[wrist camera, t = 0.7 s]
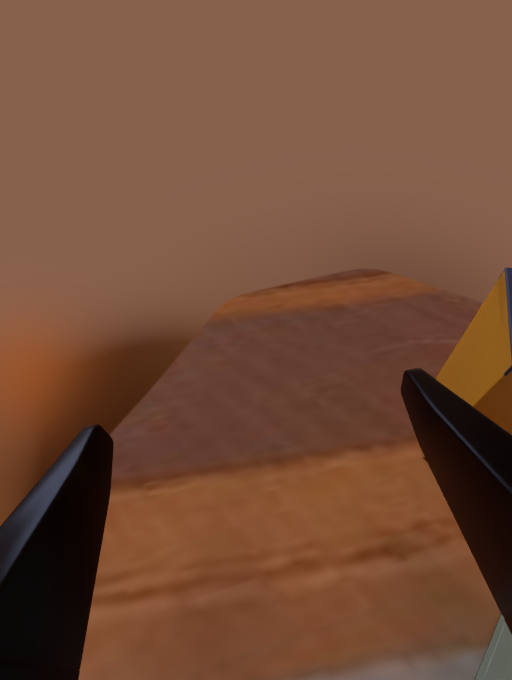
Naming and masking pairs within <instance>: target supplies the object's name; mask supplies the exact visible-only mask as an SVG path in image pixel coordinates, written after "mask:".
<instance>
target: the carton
mask: <svg viewBox="0 0 512 680" xmlns="http://www.w3.org/2000/svg"><path fill="white" fill-rule="evenodd" d="M436 380H437V381H439V382H440V383H441V384H443V385H444V386H445V387H447V388H448V389H450V390H451V391H452V392H454V393H455V394H456V395H458V396H459V397H460V398H462V399H463V400H465V401H466V402H467V403H469V404H470V405H471V406H473V407H474V408H476V409H477V410H478V411H480V412H481V413H482V414H484V415H485V416H487V417H488V418H489V419H491V420H492V421H493V422H495V423H496V424H497V425H499V426H500V427H502V428H503V429H504V430H506V431H507V432H508V433H510V434H511V435H512V268H505V270H504V271H503V273H502V274H501V276H500V277H499V279H498V281H497V283H496V284H495V286H494V287H493V289H492V290H491V292H490V294H489V295H488V297H487V298H486V300H485V301H484V303H483V305H482V306H481V308H480V309H479V311H478V312H477V314H476V316H475V317H474V319H473V320H472V322H471V323H470V325H469V327H468V328H467V330H466V331H465V333H464V335H463V336H462V338H461V339H460V341H459V342H458V344H457V346H456V347H455V349H454V350H453V352H452V353H451V355H450V357H449V358H448V360H447V361H446V363H445V365H444V366H443V368H442V369H441V371H440V372H439V374H438V376H437V377H436ZM423 458H425V456H424V454H423Z"/></svg>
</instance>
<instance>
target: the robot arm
mask: <svg viewBox="0 0 512 680" xmlns="http://www.w3.org/2000/svg"><path fill="white" fill-rule="evenodd" d="M401 394H402V397H403V400H404V403H405V406H406V409H407V412H408V414H409V417H410V420H411V423H412V426H413V429H414V431H415V434H416V437H417V440H418V442H419V445H420V447H421V450H422V452H423V454H424V456H425V458H426V460H427V462H428V464H429V466H430V468H431V470H432V472H433V474H434V476H435V478H436V481H437V483H438V485H439V487H440V489H441V491H442V493H443V495H444V497H445V499H446V501H447V503H448V505H449V507H450V509H451V511H452V513H453V515H454V517H455V519H456V521H457V524H458V526H459V528H460V530H461V532H462V534H463V536H464V538H465V540H466V542H467V544H468V546H469V548H470V550H471V552H472V554H473V556H474V558H475V560H476V562H477V565H478V567H479V569H480V571H481V573H482V575H483V577H484V579H485V581H486V583H487V585H488V587H489V589H490V591H491V593H492V595H493V597H494V599H495V601H496V603H497V606H498V608H499V610H500V612H501V614H502V616H503V617H505V618H504V620H505V622H506V624H507V626H508V628H509V630H510V633H511V635H512V435H511V434H510V433H508V432H507V431H506V430H504V429H503V428H502V427H500V426H499V425H497V424H496V423H495V422H493V421H492V420H491V419H489V418H488V417H487V416H485V415H484V414H482V413H481V412H480V411H478V410H477V409H476V408H474V407H473V406H471V405H470V404H469V403H467V402H466V401H465V400H463V399H462V398H460V397H459V396H458V395H456V394H455V393H454V392H452V391H451V390H450V389H448V388H447V387H445V386H444V385H443V384H441V383H440V382H439V381H437V380H436V379H434V378H433V377H432V376H430V375H429V374H428V373H426V372H425V371H424V370H422V369H419V368H416V369H410V370H406V371H405V372H404V374H403V380H402V385H401ZM112 460H113V440H112V438H111V437H110V435H109V434H108V433H107V432H106V431H105V430H104V429H103V428H102V427H101V426H100V425H98V424H96V425H90V426H86V427H84V428H83V429H82V430H81V431H80V432H79V434H78V435H77V436H76V437H75V438H74V439H73V440H72V442H71V443H70V444H69V445H68V446H67V448H66V449H65V450H64V451H63V452H62V454H61V455H60V456H59V457H58V458H57V460H56V461H55V462H54V463H53V464H52V465H51V467H50V468H49V469H48V470H47V471H46V473H45V474H44V475H43V476H42V477H41V479H40V480H39V481H38V482H37V483H36V484H35V486H34V487H33V488H32V489H31V490H30V492H29V493H28V494H27V495H26V497H25V498H24V499H23V500H22V501H21V502H20V503H19V505H18V506H17V507H16V508H15V509H14V511H13V512H12V513H11V514H10V515H9V517H8V518H7V519H6V520H5V521H4V523H3V524H2V525H1V526H0V680H78V678H79V673H80V671H79V669H80V665H81V660H82V654H83V648H84V642H85V637H86V631H87V625H88V619H89V614H90V608H91V602H92V596H93V591H94V585H95V579H96V573H97V568H98V562H99V556H100V550H101V545H102V539H103V533H104V527H105V521H106V516H107V510H108V504H109V498H110V489H111V475H112Z"/></svg>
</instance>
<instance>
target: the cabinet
mask: <svg viewBox="0 0 512 680" xmlns="http://www.w3.org/2000/svg"><path fill="white" fill-rule="evenodd" d="M504 618H505V617H503V616H502V614H501V616H500V619H499V621H498V624H497V626H496V629H495V631H494V634H493V636H492V639H491V641H490V644H489V646H488V649H487V651H486V654H485V656H484V659H483V661H482V664H481V666H480V669H479V671H478V674H477V676H476V679H475V680H512V635H511V633H510V630H509V628H508V626H507V624H506V622H505V620H504Z"/></svg>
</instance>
